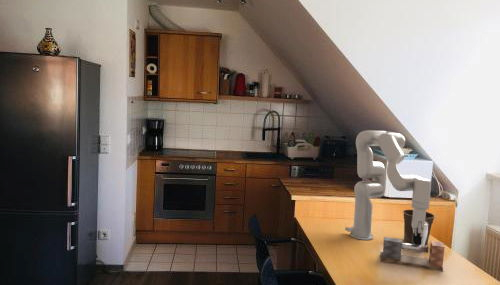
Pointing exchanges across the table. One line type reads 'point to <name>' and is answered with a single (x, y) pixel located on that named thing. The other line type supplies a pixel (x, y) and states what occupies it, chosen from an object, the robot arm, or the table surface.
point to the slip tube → (415, 247)
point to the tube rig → (394, 256)
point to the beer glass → (424, 234)
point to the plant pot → (408, 227)
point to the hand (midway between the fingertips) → (416, 242)
